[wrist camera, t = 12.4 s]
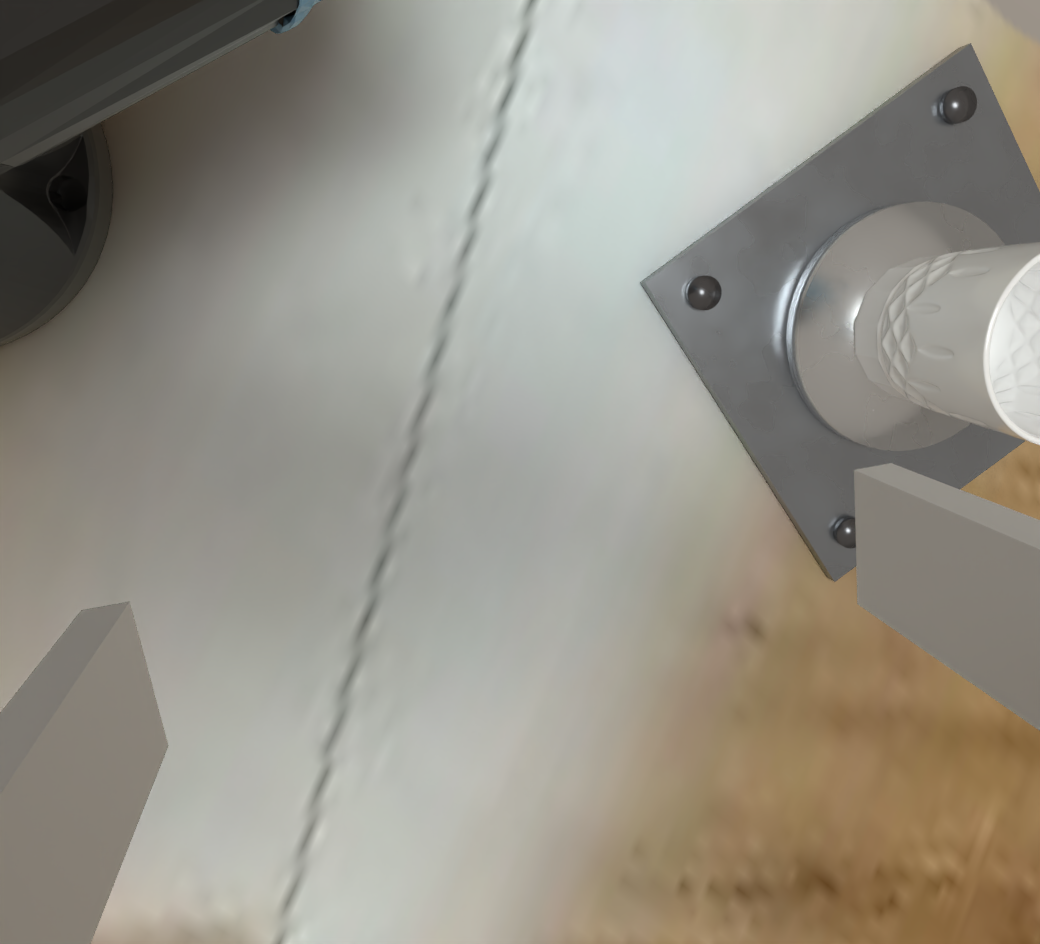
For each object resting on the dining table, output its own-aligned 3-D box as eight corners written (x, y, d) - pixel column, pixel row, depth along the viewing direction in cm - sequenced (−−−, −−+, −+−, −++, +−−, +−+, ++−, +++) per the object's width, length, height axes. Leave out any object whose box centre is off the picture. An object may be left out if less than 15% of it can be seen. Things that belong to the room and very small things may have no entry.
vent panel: (640, 282, 41) (653, 282, 39) (959, 47, 41) (988, 36, 39) (826, 576, 46) (846, 589, 44) (1109, 368, 46) (1141, 371, 44)
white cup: (838, 255, 40) (986, 249, 31) (990, 236, 41) (1178, 224, 32) (843, 420, 42) (983, 462, 33) (987, 397, 43) (1164, 431, 34)
